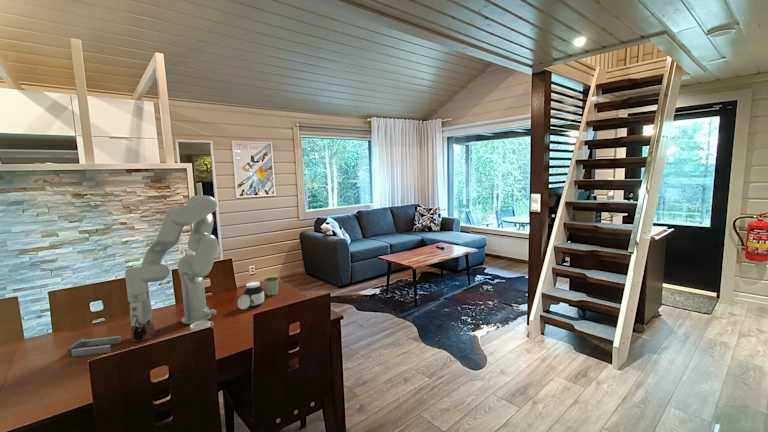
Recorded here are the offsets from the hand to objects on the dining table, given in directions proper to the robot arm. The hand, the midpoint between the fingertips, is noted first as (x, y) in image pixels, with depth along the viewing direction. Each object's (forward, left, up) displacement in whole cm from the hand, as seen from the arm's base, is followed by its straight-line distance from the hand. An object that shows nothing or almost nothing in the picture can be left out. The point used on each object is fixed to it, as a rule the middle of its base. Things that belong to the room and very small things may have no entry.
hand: (143, 335), depth 154 cm
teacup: (-25, +5, -1) cm, 26 cm away
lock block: (0, 0, -1) cm, 1 cm away
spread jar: (-41, -25, -1) cm, 48 cm away
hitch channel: (+15, +6, -1) cm, 16 cm away
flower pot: (-50, -42, -1) cm, 65 cm away
